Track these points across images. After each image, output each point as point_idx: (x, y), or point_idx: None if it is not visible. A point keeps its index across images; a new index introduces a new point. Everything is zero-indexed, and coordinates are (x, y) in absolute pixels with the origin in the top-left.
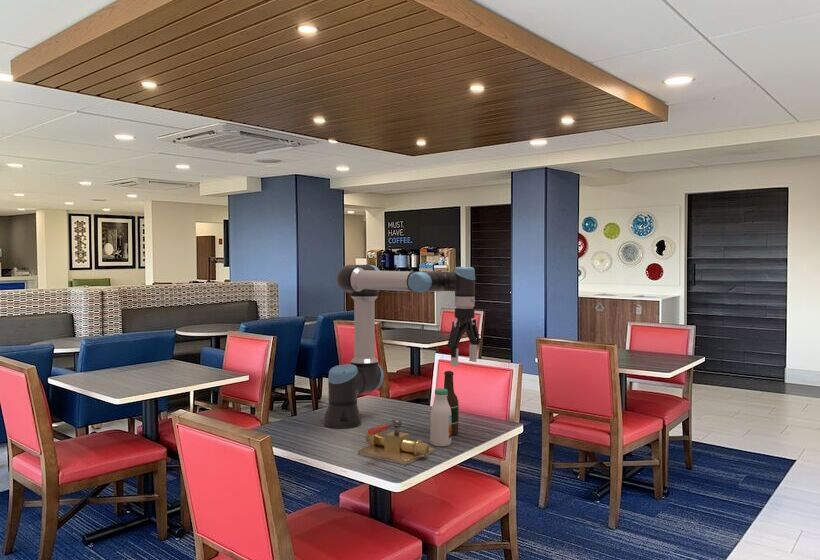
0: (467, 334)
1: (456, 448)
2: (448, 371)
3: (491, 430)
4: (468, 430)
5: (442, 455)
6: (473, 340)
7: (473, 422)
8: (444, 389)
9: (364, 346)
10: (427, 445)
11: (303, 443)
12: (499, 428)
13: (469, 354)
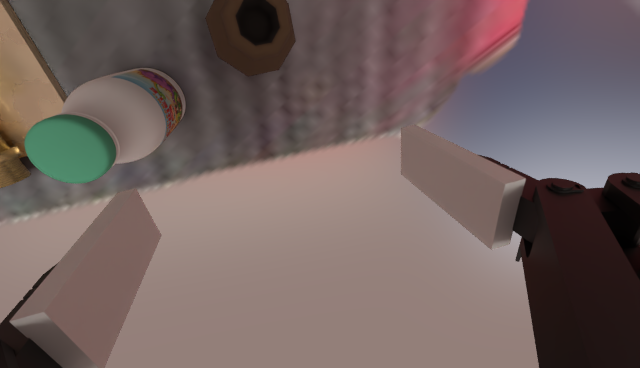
0: (578, 343)
1: (168, 154)
2: (270, 3)
3: (360, 104)
4: (318, 59)
5: None
6: (531, 273)
7: (398, 7)
8: (84, 166)
9: None
10: (10, 183)
11: None
12: (388, 105)
13: (431, 143)
